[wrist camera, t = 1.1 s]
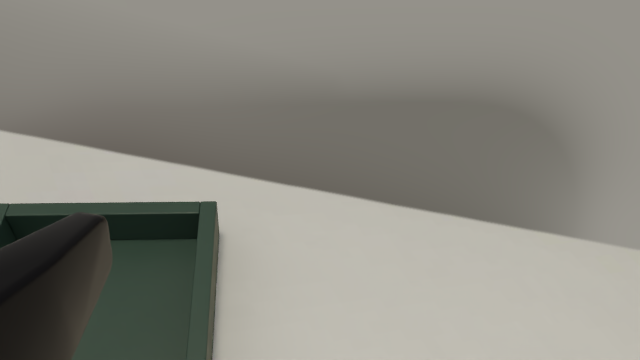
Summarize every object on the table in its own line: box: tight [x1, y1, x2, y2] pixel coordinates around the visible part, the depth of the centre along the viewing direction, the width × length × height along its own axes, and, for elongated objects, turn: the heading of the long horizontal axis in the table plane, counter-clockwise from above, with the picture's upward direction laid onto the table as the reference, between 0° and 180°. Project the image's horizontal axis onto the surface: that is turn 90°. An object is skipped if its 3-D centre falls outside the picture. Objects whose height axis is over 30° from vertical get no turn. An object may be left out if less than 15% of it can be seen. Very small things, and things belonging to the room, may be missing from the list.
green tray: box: [0, 202, 219, 360], centre depth 22 cm, size 11×15×2 cm
